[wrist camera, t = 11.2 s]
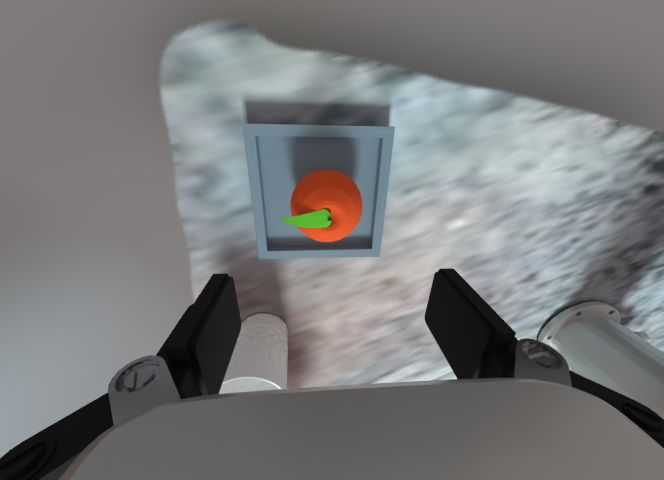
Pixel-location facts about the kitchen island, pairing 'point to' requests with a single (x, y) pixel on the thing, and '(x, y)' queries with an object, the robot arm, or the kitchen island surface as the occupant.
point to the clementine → (325, 205)
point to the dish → (303, 158)
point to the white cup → (258, 356)
